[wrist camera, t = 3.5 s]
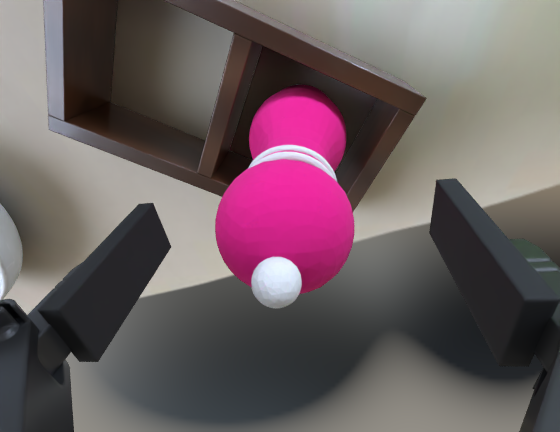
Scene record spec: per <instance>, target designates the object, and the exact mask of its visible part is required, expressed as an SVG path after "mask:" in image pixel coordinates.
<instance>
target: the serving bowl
mask: <svg viewBox="0 0 560 432" xmlns="http://www.w3.org/2000/svg"><path fill="white" fill-rule="evenodd" d="M22 259H23V250H22V243H21V239H20V236H19V233H18V231H17V228H16V226H15V224H14V222H13V220H12V219H11V217H10V216H9V214H8V213H7V211H6V210H5V209H4V207H3V206H2V205H1V204H0V300H2V299H3V298H4V297H5V296H6V294H7V293H8V292H9V291H10V289H11V288H12V286H13V285H14V283H15V281H16V280H17V278H18V275H19V273H20V270H21V266H22Z"/></svg>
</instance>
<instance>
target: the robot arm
mask: <svg viewBox="0 0 560 432" xmlns="http://www.w3.org/2000/svg"><path fill="white" fill-rule="evenodd" d="M430 235H431V237H432V239H433V241H434V242H435V244H436V246H437V248H438V250H439V252H440V254H441V256H442V258H443V260H444V262H445V263H446V265H447V267H448V269H449V271H450V273H451V275H452V277H453V279H454V281H455V283H456V285H457V286H458V288H459V290H460V292H461V294H462V296H463V298H464V300H465V302H466V304H467V306H468V307H469V309H470V311H471V313H472V315H473V317H474V319H475V321H476V323H477V325H478V327H479V329H480V330H481V332H482V334H483V336H484V338H485V340H486V342H487V344H488V346H489V348H490V350H491V351H492V353H493V355H494V357H495V359H496V361H497V363H498V364H499V366H529V364H530V362H531V360H532V358H533V356H534V354H535V355H536V356H537V358H538V359H539V361H540V362H541V364H542V365H543V369H542V371H541V373H540V375H539V377H538V379H537V381H536V383H535V385H534V387H533V389H535V390H534V393H533V395H532V398H531V401H530V404H529V407H528V409H527V412H526V415H525V417H524V420H523V423H522V426H521V429H520V431H519V432H560V268H559V267H558V266H557V265H556V264H555V263H554V262H553V261H551V259H550V258H549V257H548V256H547V255H546V254H545V253H544V251H542V249H541V248H539V247H538V246H536V245H534V244H532V243H530V242H529V241H527V240H525V239H508V238H507V237H506V236H505V235H504V233H503V232H502V231H501V230H500V229H499V227H498V226H497V225H496V224H495V223H494V222H493V221H492V220H491V218H490V217H489V216H488V215H487V214H486V213H485V212H484V210H483V209H482V208H481V207H480V206H479V204H478V203H477V202H476V201H475V200H474V199H473V198H472V196H471V195H470V194H469V193H468V192H467V191H466V189H465V188H464V187H463V186H462V185H461V184H460V183H459V181H458V180H457V179H443V180H436V188H435V195H434V202H433V210H432V217H431V224H430ZM170 248H171V245H170V243H169V240H168V238H167V236H166V233H165V231H164V228H163V226H162V224H161V221H160V219H159V216H158V214H157V212H156V209H155V207H154V204H153V203H146V204H138V205H137V207H136V208H135V209H134V210H133V211H132V212H131V213H130V214H129V215H128V216H127V217H126V218H125V219H124V220H123V221H122V222H121V223H120V224H119V225H118V226H117V227H116V228H115V229H114V230H113V232H112V233H111V234H110V235H109V236H108V237H107V238H106V239H105V240H104V241H103V242H102V243H101V244H100V245H99V246H98V247H97V248H96V249H95V250H94V251H93V252H92V253H91V254H90V255H89V257H88V258H87V259H86V260H85V261H84V262H82V263H81V264H79V265H78V266H77V267H75V268H74V269H72V270H71V271H70V272H69V273H68V274H67V275H66V276H65V277H64V278H63V281H60V282H59V283H58V284H57V285H56V286H55V289H53V290H52V291H51V292H50V293H49V294H48V295H47V296H46V297H45V298H44V299H43V300H42V301H41V302H40V303H39V304H38V305H37V306H36V307H35V308H34V309H33V310H32V311H31V312H30V313H29V314H28V315H26V313H25V312H24V311H23V310H22V309H21V308H20V306H19V305H18V304H17V303H16V302H15V301H14V300H12V299H5V300H0V432H74V426H73V412H72V397H71V382H70V367H69V365H68V363H67V361H66V360H65V359H66V358H67V356H68V355H69V354H70V352H72V353H73V354H74V356H75V357H76V358H77V359H78V360H79V362H85V361H86V362H98V361H99V359H100V358H101V356H102V355H103V353H104V352H105V350H106V348H107V347H108V345H109V344H110V342H111V341H112V339H113V338H114V336H115V334H116V333H117V331H118V330H119V328H120V327H121V325H122V323H123V322H124V320H125V319H126V317H127V316H128V314H129V312H130V311H131V309H132V307H133V306H134V305H135V303H136V301H137V300H138V298H139V297H140V295H141V294H142V292H143V290H144V289H145V287H146V286H147V284H148V283H149V281H150V280H151V278H152V276H153V275H154V273H155V272H156V270H157V269H158V267H159V265H160V264H161V262H162V261H163V259H164V258H165V256H166V254H167V253H168V251H169V250H170Z"/></svg>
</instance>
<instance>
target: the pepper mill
mask: <svg viewBox="0 0 560 432" xmlns="http://www.w3.org/2000/svg"><path fill="white" fill-rule="evenodd" d="M249 145H250V150H251V154H252V158H253V161H252V163H251V164H250V166H249V167H248V169H246V170H245V171H244V172H243V173H241V174H240V175H239V176H238V177H237V178H235V179H234V181H233V182H232V183H231V184H230V186H229V187H228V188H227V190H226V191H225V193H224V195H223V197H222V199H221V201H220V204H219V207H218V211H217V215H216V225H215V232H216V240H217V245H218V248H219V251H220V254H221V256H222V258H223V260H224V262H225V264H226V265H227V266H228V268H229V269H230V271H231V272H232V273H233V274H234V275H235V276H237V277H238V278H239V279H240V280H241V281H242V282H244V283H246V284H247V285H249V286H250V287H252V291H253V293H254V295H255V297H256V298H257V299H258V300H259V301H260V302H261V303H262V304H263V305H265V306H268V307H270V308H283V307H285V306H287V305H289V304H291V303H292V302H294V301H295V299H296V298H297V296H298V295H299V294H301V293H306V292H310V291H312V290H315V289H317V288H320V287H321V286H322V285H324V284H325V283H327V282H328V281H329V280H331V279H332V278H333V277H334V276H335V275H336V274H338V272H339V271H340V269H341V268H342V266H343V265H344V263H345V262H346V260H347V258H348V255H349V253H350V250H351V248H352V243H353V238H354V217H353V213H352V208H351V204H350V202H349V200H348V198H347V195H346V193H345V191H344V190H343V189H342V188H341V186H340V185H339V184H338V183H337V179H336V175H335V173H334V171H335V170H336V169H337V167H338V165H339V163H340V162H341V160H342V158H343V155H344V151H345V148H346V126H345V122H344V119H343V116H342V114H341V112H340V111H339V109H338V108H337V106H336V105H335V104H334V103H333V102H332V101H331V100H330V99H329V98H328V96H327V95H326V94H325V93H323V92H322V91H321V90H319V89H318V88H315V87H313V86H309V85H300V84H297V85H292V86H288V87H286V88H284V89H282V90H281V91H279V92H277V93H275V94H274V95H272V96H270V97H269V98H268V99H267V100H265V101H264V102H263V104H262V105H261V106H260V107H259V108H258V110H257V112H256V114H255V116H254V118H253V121H252V124H251V128H250V134H249Z"/></svg>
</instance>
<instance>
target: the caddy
mask: <svg viewBox="0 0 560 432" xmlns="http://www.w3.org/2000/svg"><path fill="white" fill-rule="evenodd" d="M164 1H166V2H168V3H171V4H173V5H175V6H177V7H179V8H181V9H184V10H186V11H188V12H190V13H192V14H194V15H197V16H199V17H201V18H203V19H205V20H208V21H210V22H212V23H214V24H216V25H218V26H221V27H223V28H225V29H227V30H229V31H231V32H234V35H233V39H232V42H231V46H230V50H229V54H228V57H227V61H226V65H225V69H224V72H223V76H222V80H221V84H220V88H219V91H218V95H217V99H216V103H215V106H214V110H213V114H212V118H211V121H210V125H209V129H208V133H207V137H206V140H202V139H200V138H197V137H195V136H192V135H190V134H187V133H185V132H182V131H180V130H178V129H175V128H173V127H170V126H168V125H165V124H163V123H160V122H158V121H155V120H153V119H151V118H148V117H146V116H143V115H141V114H138V113H136V112H133V111H131V110H128V109H126V108H124V107H121V106H119V105H116V104H114V103H111V102H110V99H111V85H112V71H113V58H114V44H115V30H116V16H117V2H118V0H43V4H44V27H45V50H46V74H47V97H48V120H49V130H51V131H53V132H56V133H59V134H61V135H64V136H66V137H69V138H72V139H74V140H77V141H79V142H82V143H85V144H87V145H90V146H92V147H95V148H97V149H100V150H103V151H105V152H108V153H110V154H113V155H116V156H118V157H121V158H123V159H126V160H129V161H131V162H134V163H136V164H139V165H141V166H144V167H147V168H149V169H152V170H154V171H157V172H160V173H162V174H165V175H167V176H170V177H173V178H175V179H178V180H180V181H183V182H186V183H188V184H191V185H193V186H196V187H198V188H201V189H204V190H206V191H209V192H211V193H214V194H217V195H219V196H222V197H223V195H224V193H225V191H226V190H227V188H228V187H229V186H230V184H231V183H232V182H233V181H234V179H235V178H237V177H238V176H239V175H240V174H241V173H243V172H244V171H245V170H246V169H248V167H249V166H250V164H251V163H252V161H253V160H251V159H249V158H246V157H244V156H241V155H239V154H236V153H234V152H232V151H229V150H230V147H231V144H232V141H233V138H234V135H235V131H236V128H237V125H238V122H239V119H240V116H241V113H242V110H243V106H244V103H245V100H246V97H247V94H248V91H249V88H250V84H251V81H252V78H253V75H254V72H255V69H256V66H257V62H258V59H259V56H260V53H261V50H262V47H263V46H264V47H266V48H268V49H271V50H273V51H275V52H277V53H279V54H282V55H284V56H286V57H288V58H290V59H292V60H295V61H297V62H299V63H301V64H303V65H305V66H308V67H310V68H312V69H314V70H316V71H319V72H321V73H323V74H325V75H327V76H329V77H332V78H334V79H336V80H338V81H340V82H342V83H345V84H347V85H349V86H351V87H353V88H356V89H358V90H360V91H362V92H364V93H366V94H369V95H371V96H373V97H375V98H377V100H376V102H375V104H374V106H373V108H372V109H371V111H370V113H369V115H368V117H367V118H366V120H365V122H364V124H363V125H362V127H361V129H360V131H359V133H358V134H357V136H356V138H355V140H354V142H353V143H352V145H351V147H350V149H349V151H348V152H347V154H346V156H345V158H344V159H343V161H342V163H341V165H340V167H339V168H338V170H337V172H336V174H335V175H336V179H337V183H338V184H339V185H340V186H341V188H342V189H343V190H344V191H345V193H346V195H347V198H348V200H349V202H350V204H351V208H352V213H353V211H354V210H355V208H356V206H357V205H358V203H359V202H360V200H361V199H362V197H363V196H364V194H365V193H366V191H367V190H368V188H369V186H370V185H371V183H372V182H373V180H374V179H375V177H376V176H377V174H378V173H379V171H380V169H381V168H382V166H383V165H384V163H385V162H386V160H387V159H388V157H389V156H390V154H391V152H392V151H393V149H394V148H395V146H396V145H397V143H398V142H399V140H400V139H401V137H402V135H403V134H404V132H405V131H406V129H407V128H408V126H409V125H410V123H411V122H412V120H413V118H414V117H415V115H416V114H417V112H418V111H419V109H420V108H421V106H422V105H423V103H424V102H425V100H426V97H424V96H423V95H422V94H420V93H419V92H418V91H417V90H415V89H414V88H413V87H411V86H410V85H409V84H407V83H406V82H405V81H403V80H401V79H399V78H397V77H395V76H393V75H390V74H388V73H386V72H384V71H382V70H380V69H378V68H376V67H374V66H371V65H369V64H367V63H365V62H363V61H361V60H359V59H357V58H355V57H352V56H350V55H348V54H346V53H344V52H342V51H340V50H338V49H336V48H333V47H331V46H329V45H327V44H325V43H323V42H321V41H319V40H317V39H314V38H312V37H310V36H308V35H306V34H304V33H302V32H300V31H298V30H295V29H293V28H291V27H289V26H287V25H285V24H283V23H281V22H278V21H276V20H274V19H272V18H270V17H268V16H266V15H264V14H262V13H259V12H257V11H255V10H253V9H251V8H249V7H247V6H245V5H243V4H240V3H238V2H236V1H234V0H164Z"/></svg>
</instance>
